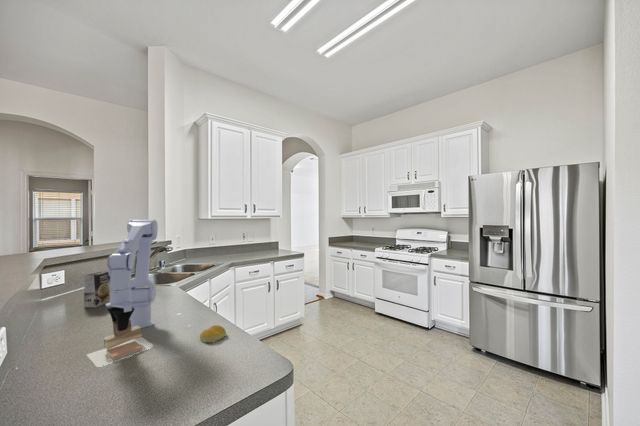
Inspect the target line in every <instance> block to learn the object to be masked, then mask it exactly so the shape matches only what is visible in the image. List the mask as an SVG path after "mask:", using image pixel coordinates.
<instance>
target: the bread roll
mask: <svg viewBox="0 0 640 426" xmlns="http://www.w3.org/2000/svg"><path fill="white" fill-rule="evenodd" d="M226 335H227V331H226V329H225V328H224V327H223V326H221V325H217V324H216V325H215V324H214V325H212V326H210V327H208V329H207V328H206V329H205V330H203V331H202V332H201V333H200V335H199V339H200V341H201V342H202V341H203V342H202V343H205V342H211V343H214V342H213V341H216V342H218V341H217V340H219V339H221V338H222V339H224V338H225V337H226ZM224 336H225V337H224ZM223 337H224V338H223ZM222 339H221V340H222ZM219 341H220V340H219Z"/></svg>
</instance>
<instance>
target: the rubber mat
mask: <svg viewBox="0 0 640 426" xmlns="http://www.w3.org/2000/svg"><path fill="white" fill-rule="evenodd" d="M133 341H136V342H137V343H138V344H140V345H141V346H142V349H143V348H144V349H143V350H145V349H146V350H148V349H149V350H148V351H150V348H151V347H152V346H153V345H154V344H153V343H151V342H150V341H148V340H147V339H145V338H144V337H142V336H140V337H137V338H135V339H132V340H130V341H127V342H125V343H122V344H120V345H118V346H121V345H124V344H127V343H130V342H133ZM118 346H115V347H118ZM150 346H151V347H150ZM115 347H113V348H115ZM110 349H111V348H110ZM106 353H107V349H106V348H105V347H104V348H102V349H99V350H96V351H93V352H89V353H87V354H86V357H88V359H89V360H90V362H91V363H93V364H94V365H95V367H96V368H97V367H101V368H103V367H106V366H109V365H112V364H113V363H112V362H110V361H111V360H110V361H109V362H110V363H109V362H107V359H108V358H109V357H108V355H107V354H106ZM135 354H136V353H135ZM130 357H131V358H132V357H133V354H132V355H130V356H126V359H128V358H130ZM124 358H125V357H124ZM120 359H121V358H120ZM120 359H118V360H117V361H115V362H114V361H113V362H114V363H117V362H120V361H121V360H120ZM108 364H109V365H108ZM103 365H104V366H103Z"/></svg>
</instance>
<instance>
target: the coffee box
mask: <svg viewBox="0 0 640 426" xmlns="http://www.w3.org/2000/svg"><path fill="white" fill-rule="evenodd" d="M108 274H109V272H108V271H98V272H93V273H89V274H85V275H84V283H83V284H84V285H83V286H84V291H83V292H84V293H83V308H98V307H101V306H103V305H106V304H107V303H110V276H109V275H108Z"/></svg>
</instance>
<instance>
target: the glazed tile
mask: <svg viewBox="0 0 640 426" xmlns="http://www.w3.org/2000/svg"><path fill="white" fill-rule="evenodd" d="M140 351H142V346H141V345H140V344H138V343H137V342H136V341H133V342H130V343H127V344H124V345H121V346H118V347H115V348H111V349H108V350H107V353H106V354H107V355H108V356H109V357H110V358H111V359H112V360H113V361H115V360H118V359H120V358H123V357H126V356H129V355H132V354H134V353H137V352H140Z"/></svg>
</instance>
